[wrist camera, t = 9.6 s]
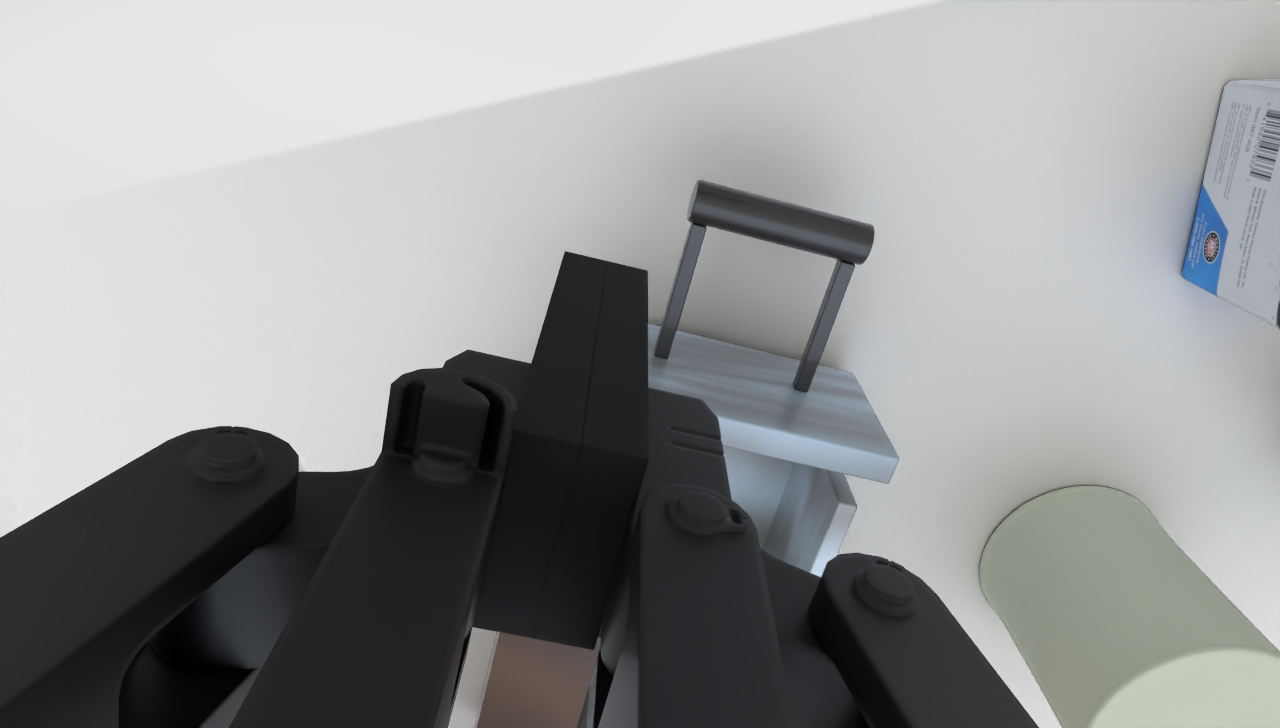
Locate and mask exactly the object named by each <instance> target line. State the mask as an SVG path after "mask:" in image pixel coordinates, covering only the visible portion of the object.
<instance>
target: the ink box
mask: <svg viewBox="0 0 1280 728" xmlns="http://www.w3.org/2000/svg"><path fill="white" fill-rule="evenodd" d="M1182 276H1183V278H1185V279H1186V280H1188V281H1190V282H1191V283H1193V284H1195V285H1197V286H1199V287H1201V288H1203V289H1204V290H1206V291H1208V292H1210V293H1212V294H1214V295H1216V296H1217V297H1219V298H1221V299H1223V300H1225V301H1227V302H1229V303H1231V304H1233V305H1235V306H1237V307H1239V308H1241V309H1242V310H1244V311H1246V312H1248V313H1250V314H1252V315H1254V316H1256V317H1258V318H1260V319H1262V320H1263V321H1265V322H1267V323H1269V324H1271V325H1273V326H1275V327H1277V328H1278V329H1280V79H1257V80H1233V81H1229V82H1228V83H1227V84H1226V85H1225V86H1224V90H1223V94H1222V99H1221V103H1220V108H1219V112H1218V116H1217V121H1216V125H1215V130H1214V135H1213V139H1212V143H1211V148H1210V152H1209V157H1208V161H1207V166H1206V170H1205V175H1204V179H1203V184H1202V189H1201V193H1200V198H1199V202H1198V207H1197V211H1196V216H1195V220H1194V225H1193V229H1192V234H1191V238H1190V242H1189V247H1188V251H1187V255H1186V260H1185V264H1184V269H1183V273H1182Z"/></svg>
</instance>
